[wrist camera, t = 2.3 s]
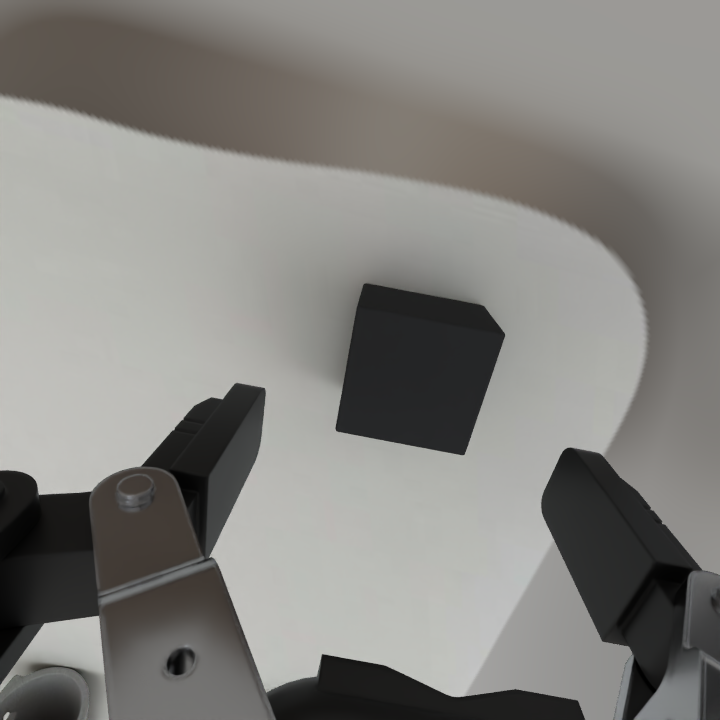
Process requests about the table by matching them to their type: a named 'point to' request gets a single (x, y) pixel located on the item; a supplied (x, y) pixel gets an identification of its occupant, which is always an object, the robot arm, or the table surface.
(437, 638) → the table surface
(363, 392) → the matte black cube
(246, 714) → the robot arm
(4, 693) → the long tapered cone
